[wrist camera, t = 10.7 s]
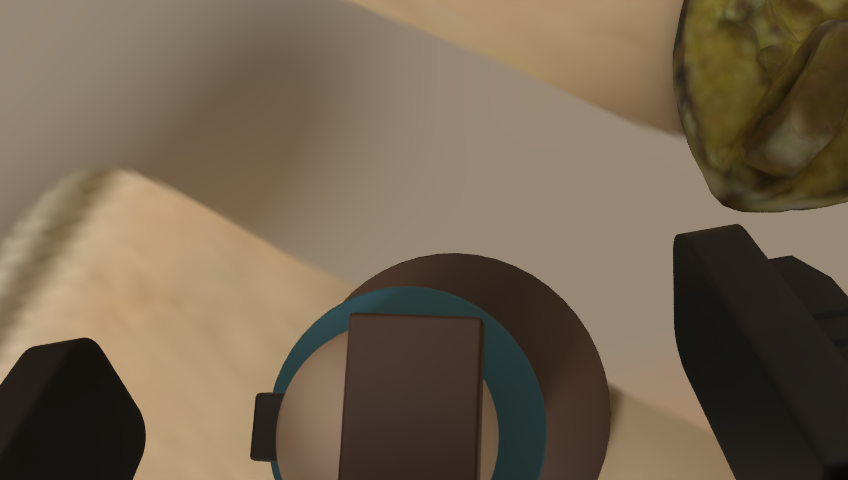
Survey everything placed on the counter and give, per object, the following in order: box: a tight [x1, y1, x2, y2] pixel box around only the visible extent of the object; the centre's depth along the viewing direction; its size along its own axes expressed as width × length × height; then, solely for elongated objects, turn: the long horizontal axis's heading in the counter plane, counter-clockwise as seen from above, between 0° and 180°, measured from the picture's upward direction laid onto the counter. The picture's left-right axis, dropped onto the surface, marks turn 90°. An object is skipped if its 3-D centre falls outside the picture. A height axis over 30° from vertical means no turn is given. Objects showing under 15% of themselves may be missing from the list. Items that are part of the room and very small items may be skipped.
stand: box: [344, 253, 611, 480], centre depth 20 cm, size 9×9×2 cm
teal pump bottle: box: [250, 286, 547, 480], centre depth 13 cm, size 5×4×11 cm
